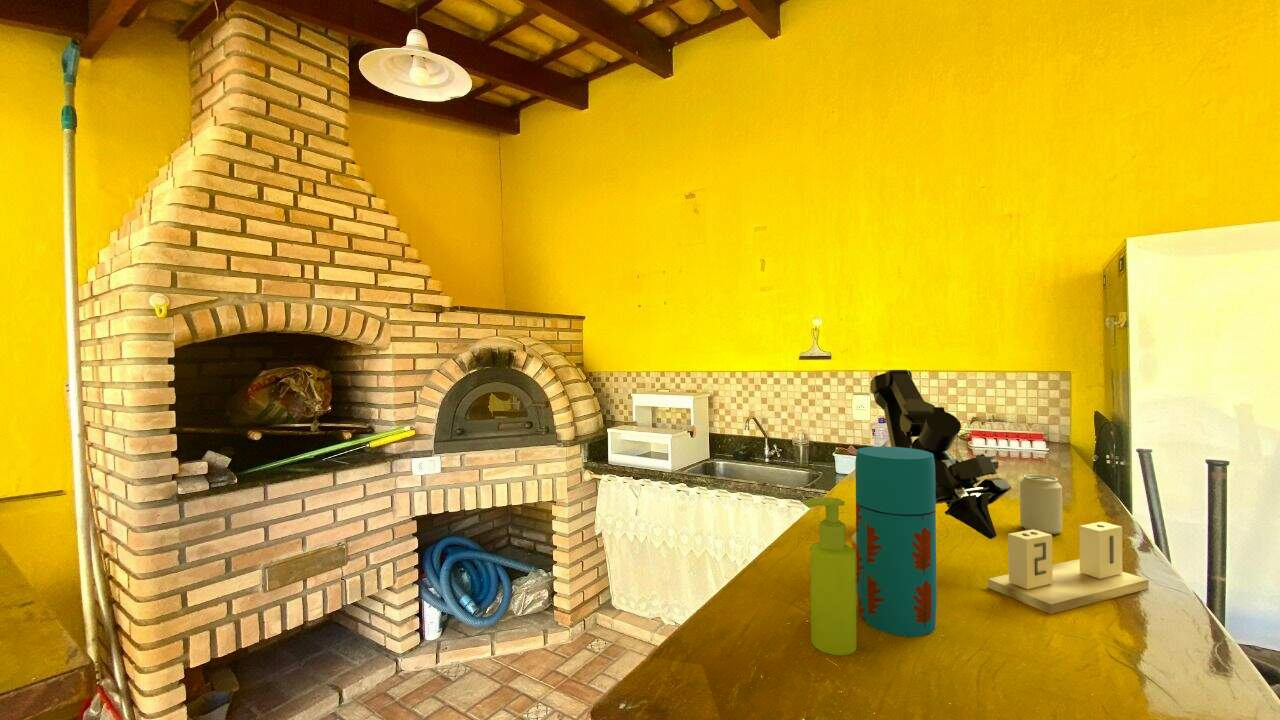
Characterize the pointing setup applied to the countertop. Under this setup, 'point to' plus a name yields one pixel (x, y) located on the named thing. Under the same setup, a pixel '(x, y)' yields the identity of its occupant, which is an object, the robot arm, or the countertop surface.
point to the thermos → (896, 539)
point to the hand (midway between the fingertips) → (993, 537)
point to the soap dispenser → (832, 583)
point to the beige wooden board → (1070, 588)
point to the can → (1041, 503)
